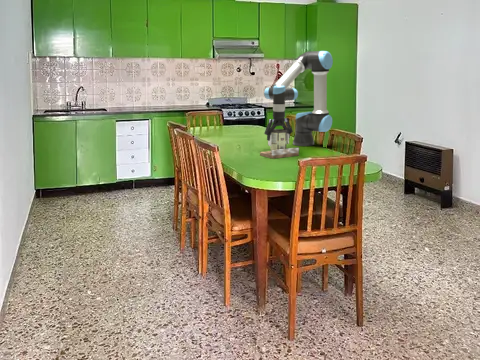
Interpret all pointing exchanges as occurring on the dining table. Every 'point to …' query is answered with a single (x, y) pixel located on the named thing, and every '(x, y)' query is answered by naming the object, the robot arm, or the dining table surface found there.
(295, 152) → the shelf board
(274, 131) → the coffee can
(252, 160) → the dining table surface
